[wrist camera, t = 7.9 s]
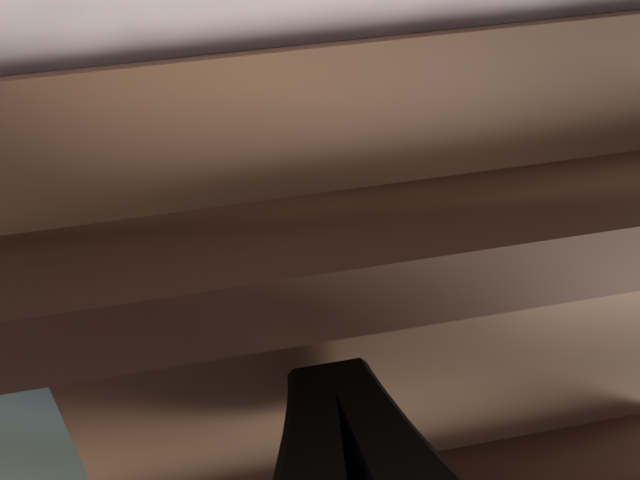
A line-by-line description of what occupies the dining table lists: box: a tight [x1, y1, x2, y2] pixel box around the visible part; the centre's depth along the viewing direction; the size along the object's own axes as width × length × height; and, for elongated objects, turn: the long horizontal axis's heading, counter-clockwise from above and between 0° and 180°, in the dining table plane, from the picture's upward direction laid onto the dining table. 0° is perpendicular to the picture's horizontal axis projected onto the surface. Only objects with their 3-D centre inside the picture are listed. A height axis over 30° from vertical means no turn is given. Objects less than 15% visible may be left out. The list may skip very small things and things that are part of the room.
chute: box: [0, 9, 640, 480], centre depth 9 cm, size 12×23×3 cm, turn 95°
